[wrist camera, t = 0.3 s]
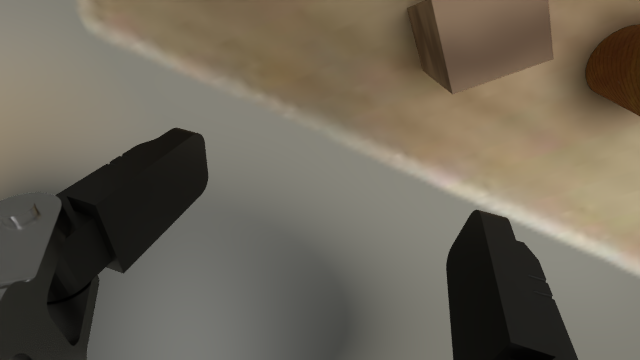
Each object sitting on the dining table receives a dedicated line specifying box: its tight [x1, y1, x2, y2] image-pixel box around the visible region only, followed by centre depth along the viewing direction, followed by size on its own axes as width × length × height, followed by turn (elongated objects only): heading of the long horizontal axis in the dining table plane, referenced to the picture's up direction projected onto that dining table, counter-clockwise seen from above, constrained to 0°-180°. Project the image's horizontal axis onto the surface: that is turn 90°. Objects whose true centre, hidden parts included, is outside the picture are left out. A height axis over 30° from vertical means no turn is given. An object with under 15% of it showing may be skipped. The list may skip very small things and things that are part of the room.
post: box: [407, 0, 553, 94], centre depth 24 cm, size 6×6×12 cm
